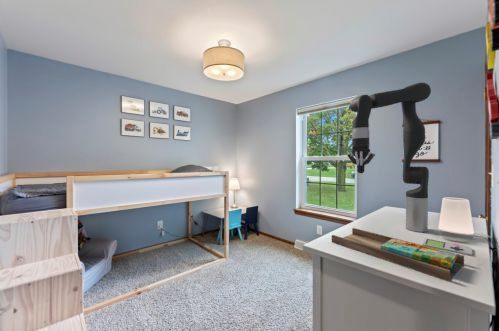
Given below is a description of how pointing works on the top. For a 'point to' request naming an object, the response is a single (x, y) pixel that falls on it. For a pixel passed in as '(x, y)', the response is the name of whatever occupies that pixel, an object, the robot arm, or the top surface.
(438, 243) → the handheld gaming console
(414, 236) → the top surface
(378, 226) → the top surface
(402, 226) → the top surface
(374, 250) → the channel
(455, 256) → the puzzle game
